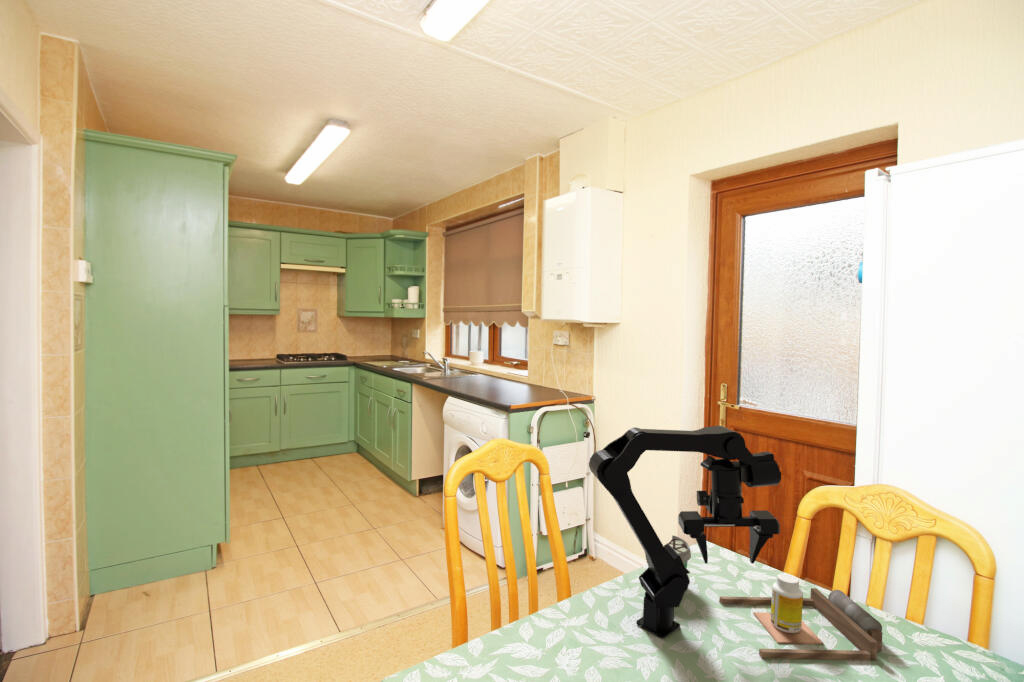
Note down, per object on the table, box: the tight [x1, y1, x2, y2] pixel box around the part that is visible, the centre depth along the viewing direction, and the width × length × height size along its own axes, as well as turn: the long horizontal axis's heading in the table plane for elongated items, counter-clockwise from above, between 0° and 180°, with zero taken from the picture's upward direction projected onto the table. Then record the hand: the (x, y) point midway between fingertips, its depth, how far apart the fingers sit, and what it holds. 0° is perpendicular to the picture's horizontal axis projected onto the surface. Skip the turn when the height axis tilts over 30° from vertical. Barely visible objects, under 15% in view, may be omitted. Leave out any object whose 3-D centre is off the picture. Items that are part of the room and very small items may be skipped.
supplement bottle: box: [770, 573, 804, 633], centre depth 104 cm, size 6×6×10 cm
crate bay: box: [719, 587, 884, 661], centre depth 105 cm, size 25×19×5 cm
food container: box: [663, 534, 692, 569], centre depth 119 cm, size 12×6×10 cm, turn 143°
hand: (728, 562), depth 105 cm, fingers open, 9 cm apart
